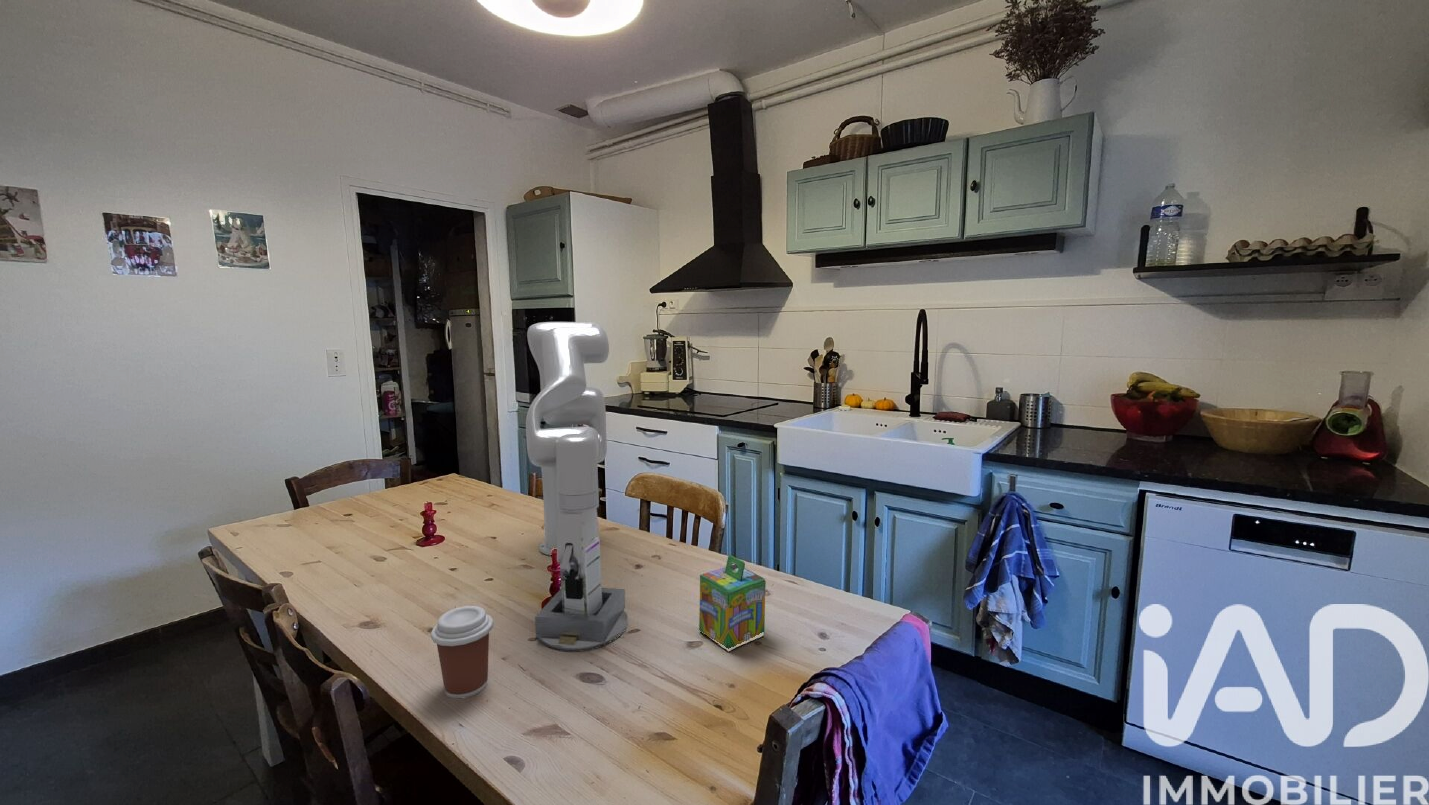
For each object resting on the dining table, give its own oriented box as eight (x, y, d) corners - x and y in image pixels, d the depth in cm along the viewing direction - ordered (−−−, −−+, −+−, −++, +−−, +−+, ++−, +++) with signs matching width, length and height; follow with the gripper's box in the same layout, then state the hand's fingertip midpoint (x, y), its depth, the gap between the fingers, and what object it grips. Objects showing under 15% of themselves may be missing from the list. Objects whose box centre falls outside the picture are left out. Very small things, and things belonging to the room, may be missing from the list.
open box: (559, 603, 118) (558, 580, 118) (637, 608, 116) (637, 585, 115) (521, 647, 102) (519, 621, 101) (611, 654, 99) (610, 628, 99)
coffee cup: (486, 702, 87) (481, 629, 85) (425, 706, 86) (419, 632, 84) (503, 667, 96) (499, 601, 94) (448, 670, 95) (443, 603, 93)
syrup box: (603, 607, 110) (601, 536, 108) (587, 621, 105) (584, 547, 103) (578, 602, 112) (575, 533, 110) (561, 616, 107) (558, 543, 105)
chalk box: (698, 632, 107) (697, 558, 105) (735, 617, 112) (735, 546, 110) (728, 654, 99) (728, 574, 97) (766, 637, 105) (767, 561, 103)
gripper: (576, 486, 115) (580, 569, 117) (538, 513, 98) (543, 610, 100) (612, 487, 114) (614, 571, 116) (580, 515, 97) (583, 613, 99)
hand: (581, 588), depth 108 cm, fingers closed on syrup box, 6 cm apart
